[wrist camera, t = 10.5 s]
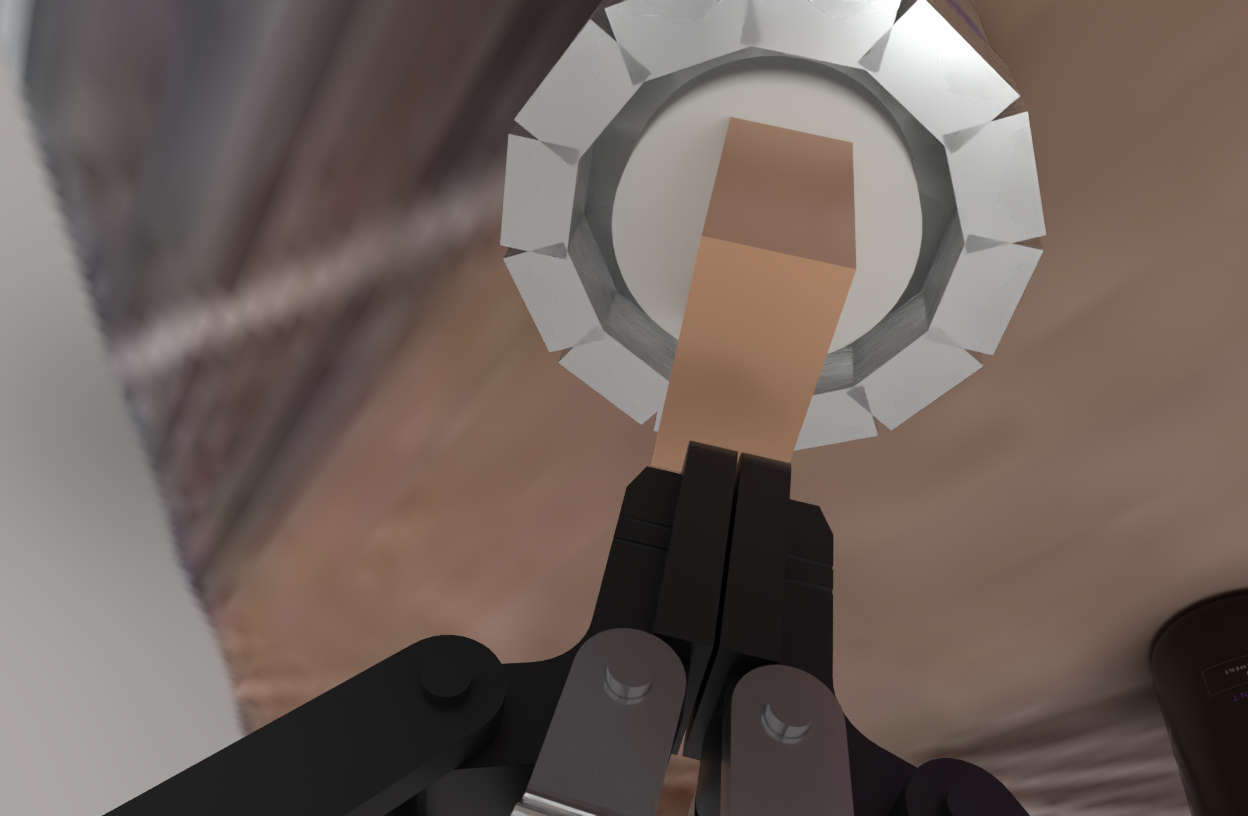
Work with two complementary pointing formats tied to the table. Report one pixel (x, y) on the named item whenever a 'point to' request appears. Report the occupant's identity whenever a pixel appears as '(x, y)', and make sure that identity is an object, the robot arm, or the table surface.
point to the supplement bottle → (1207, 703)
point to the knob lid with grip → (763, 242)
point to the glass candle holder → (851, 43)
